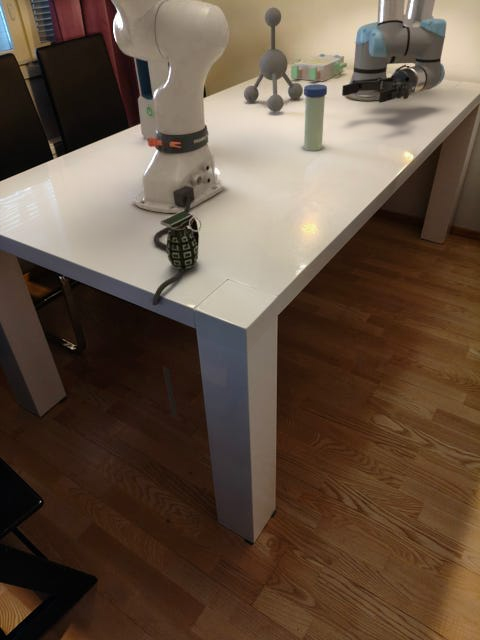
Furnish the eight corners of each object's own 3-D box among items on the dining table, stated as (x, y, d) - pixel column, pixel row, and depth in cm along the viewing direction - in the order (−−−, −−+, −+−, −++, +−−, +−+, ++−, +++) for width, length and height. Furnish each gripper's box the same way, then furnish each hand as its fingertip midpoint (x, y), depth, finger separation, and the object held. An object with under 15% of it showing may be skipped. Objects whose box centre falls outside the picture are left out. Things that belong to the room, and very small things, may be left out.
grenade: (182, 278, 88) (175, 228, 82) (162, 268, 91) (153, 219, 85) (208, 263, 92) (203, 214, 85) (187, 253, 95) (181, 205, 89)
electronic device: (141, 137, 154) (123, 28, 136) (159, 131, 158) (144, 24, 140) (166, 145, 147) (151, 30, 129) (185, 138, 151) (172, 26, 133)
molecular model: (322, 103, 175) (328, 5, 157) (274, 116, 166) (273, 12, 147) (282, 92, 191) (282, 1, 172) (235, 103, 181) (230, 8, 163)
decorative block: (312, 52, 220) (353, 55, 210) (311, 68, 224) (351, 71, 214) (282, 63, 204) (325, 66, 194) (282, 79, 208) (324, 84, 198)
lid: (303, 91, 133) (303, 84, 132) (326, 91, 133) (326, 83, 132) (303, 97, 129) (304, 90, 128) (327, 96, 128) (327, 89, 127)
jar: (303, 145, 142) (305, 86, 132) (321, 144, 141) (324, 86, 132) (304, 151, 138) (306, 91, 128) (322, 150, 137) (325, 90, 128)
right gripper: (440, 100, 144) (395, 114, 134) (372, 89, 161) (328, 101, 150) (445, 72, 140) (399, 85, 130) (375, 64, 156) (329, 74, 146)
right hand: (361, 93), depth 140 cm, fingers open, 13 cm apart
